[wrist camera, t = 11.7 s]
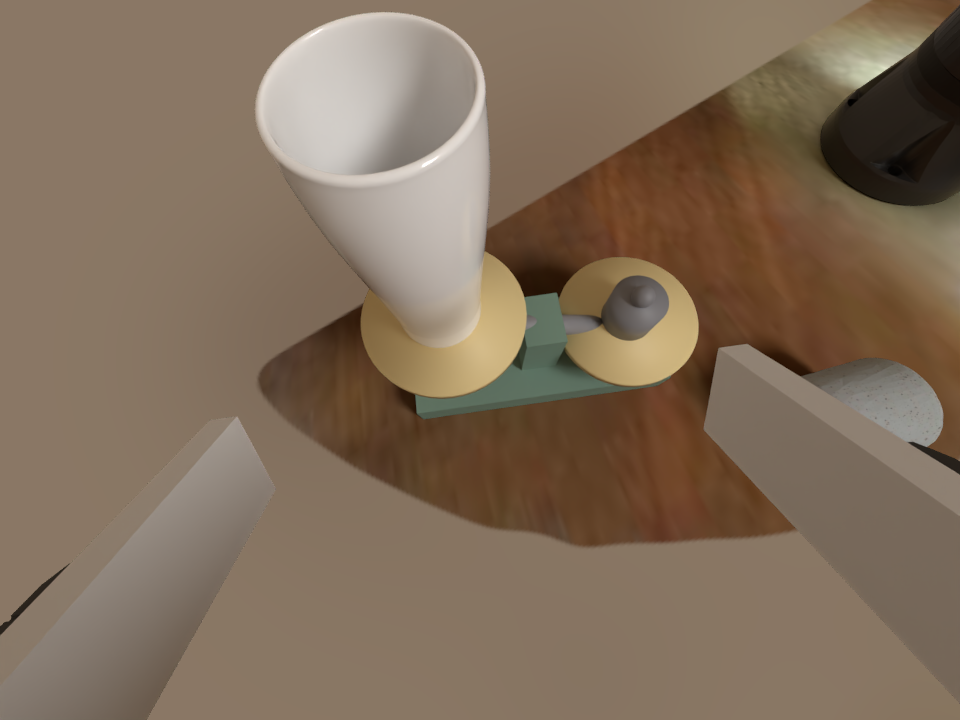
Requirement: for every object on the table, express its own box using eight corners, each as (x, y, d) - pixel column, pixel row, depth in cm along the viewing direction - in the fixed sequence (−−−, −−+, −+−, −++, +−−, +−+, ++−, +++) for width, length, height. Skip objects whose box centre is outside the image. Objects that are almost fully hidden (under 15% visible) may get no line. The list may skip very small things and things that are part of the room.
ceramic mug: (740, 394, 35) (806, 372, 27) (823, 370, 35) (910, 343, 28) (798, 513, 31) (890, 526, 24) (888, 487, 32) (1006, 491, 24)
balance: (643, 289, 38) (708, 205, 27) (675, 394, 35) (765, 350, 23) (400, 323, 38) (357, 254, 26) (408, 432, 35) (364, 407, 23)
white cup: (422, 254, 26) (335, -15, 12) (509, 291, 25) (528, 43, 11) (371, 335, 25) (199, 133, 10) (462, 379, 23) (411, 222, 9)
